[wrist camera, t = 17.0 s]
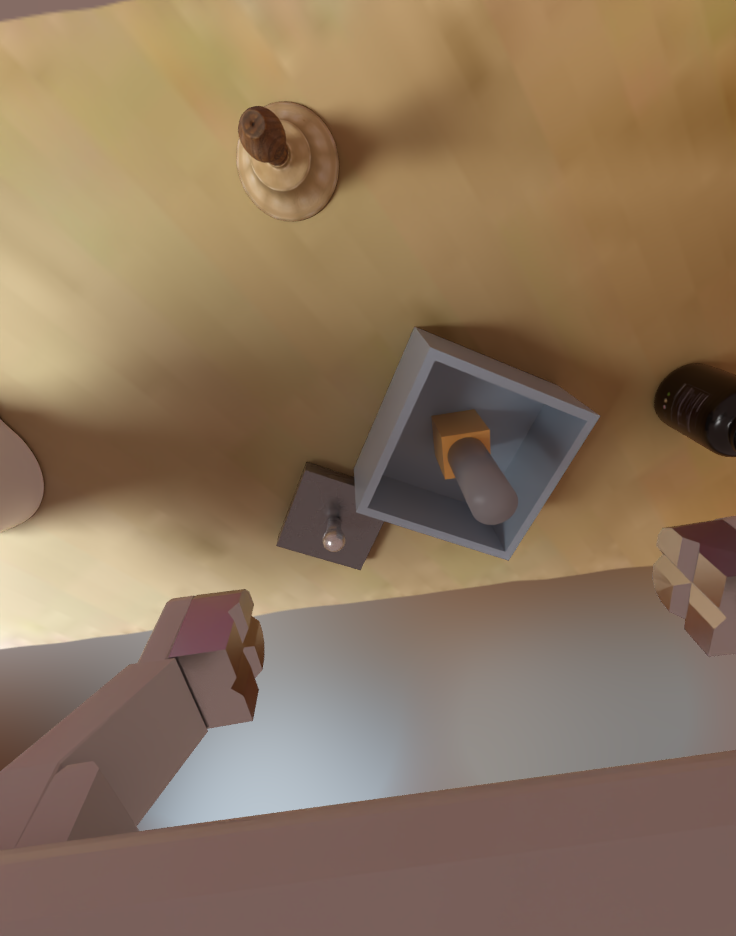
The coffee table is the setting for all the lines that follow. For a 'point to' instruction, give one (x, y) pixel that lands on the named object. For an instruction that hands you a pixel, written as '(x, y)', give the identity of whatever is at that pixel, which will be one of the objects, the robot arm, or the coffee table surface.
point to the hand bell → (286, 160)
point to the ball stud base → (328, 519)
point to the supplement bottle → (700, 406)
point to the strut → (473, 465)
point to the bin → (511, 443)
